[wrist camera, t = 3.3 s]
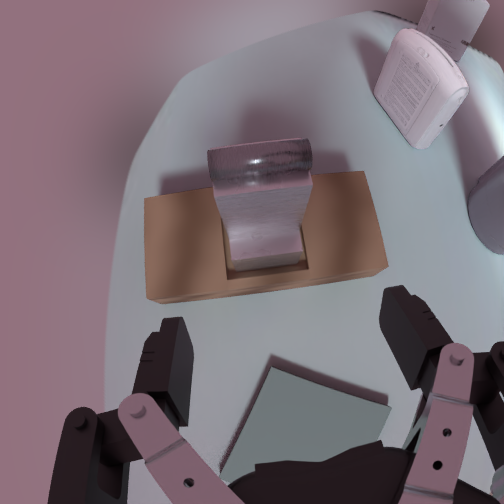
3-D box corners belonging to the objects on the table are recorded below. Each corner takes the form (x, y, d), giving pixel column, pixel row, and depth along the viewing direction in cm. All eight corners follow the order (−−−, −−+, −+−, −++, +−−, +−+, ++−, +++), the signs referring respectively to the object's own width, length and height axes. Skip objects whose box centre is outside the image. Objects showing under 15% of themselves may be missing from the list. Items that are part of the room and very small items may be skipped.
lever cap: (236, 272, 26) (211, 213, 14) (229, 205, 27) (204, 112, 15) (297, 264, 26) (323, 199, 14) (285, 198, 27) (297, 101, 15)
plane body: (162, 304, 28) (146, 298, 24) (158, 214, 30) (144, 198, 27) (373, 276, 28) (388, 266, 24) (353, 190, 30) (363, 170, 27)
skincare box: (419, 47, 37) (445, -19, 23) (414, 30, 39) (436, -31, 25) (460, 64, 37) (491, 5, 22) (453, 46, 38) (480, -10, 24)
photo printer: (436, 146, 32) (483, 82, 20) (413, 154, 31) (459, 85, 20) (391, 87, 34) (419, 19, 23) (367, 92, 34) (392, 19, 22)
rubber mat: (271, 365, 26) (271, 366, 25) (387, 405, 25) (391, 407, 24) (219, 473, 23) (218, 478, 22) (333, 507, 22) (335, 511, 21)
